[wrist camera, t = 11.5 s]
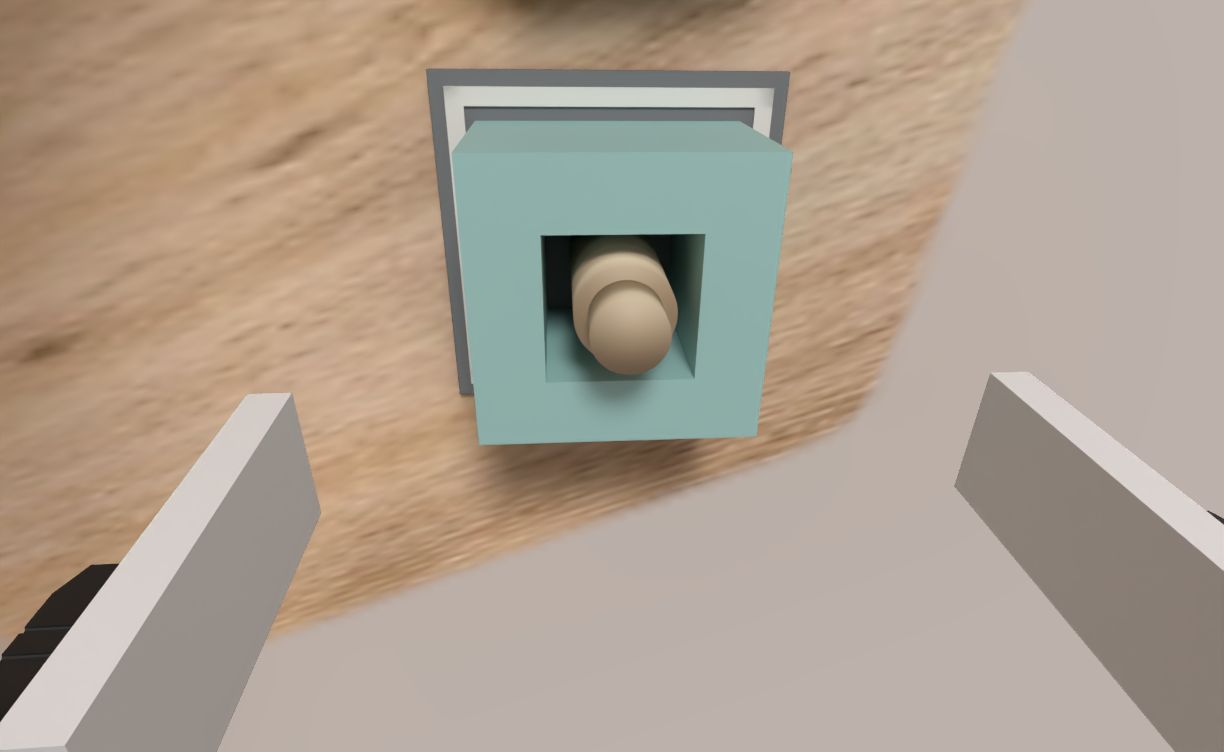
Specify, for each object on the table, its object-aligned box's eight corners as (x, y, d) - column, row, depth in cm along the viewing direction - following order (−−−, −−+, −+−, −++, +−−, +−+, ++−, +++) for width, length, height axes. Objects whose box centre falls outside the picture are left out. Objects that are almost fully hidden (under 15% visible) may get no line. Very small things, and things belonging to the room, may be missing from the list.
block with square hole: (493, 361, 27) (479, 445, 22) (475, 120, 23) (451, 152, 18) (718, 356, 28) (756, 436, 23) (739, 121, 24) (793, 151, 18)
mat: (427, 68, 22) (425, 69, 22) (787, 71, 23) (791, 72, 23) (461, 390, 28) (459, 394, 28) (750, 383, 29) (752, 387, 29)
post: (568, 207, 25) (573, 286, 18) (651, 207, 25) (690, 284, 18) (569, 286, 26) (575, 389, 19) (648, 285, 26) (683, 386, 19)
